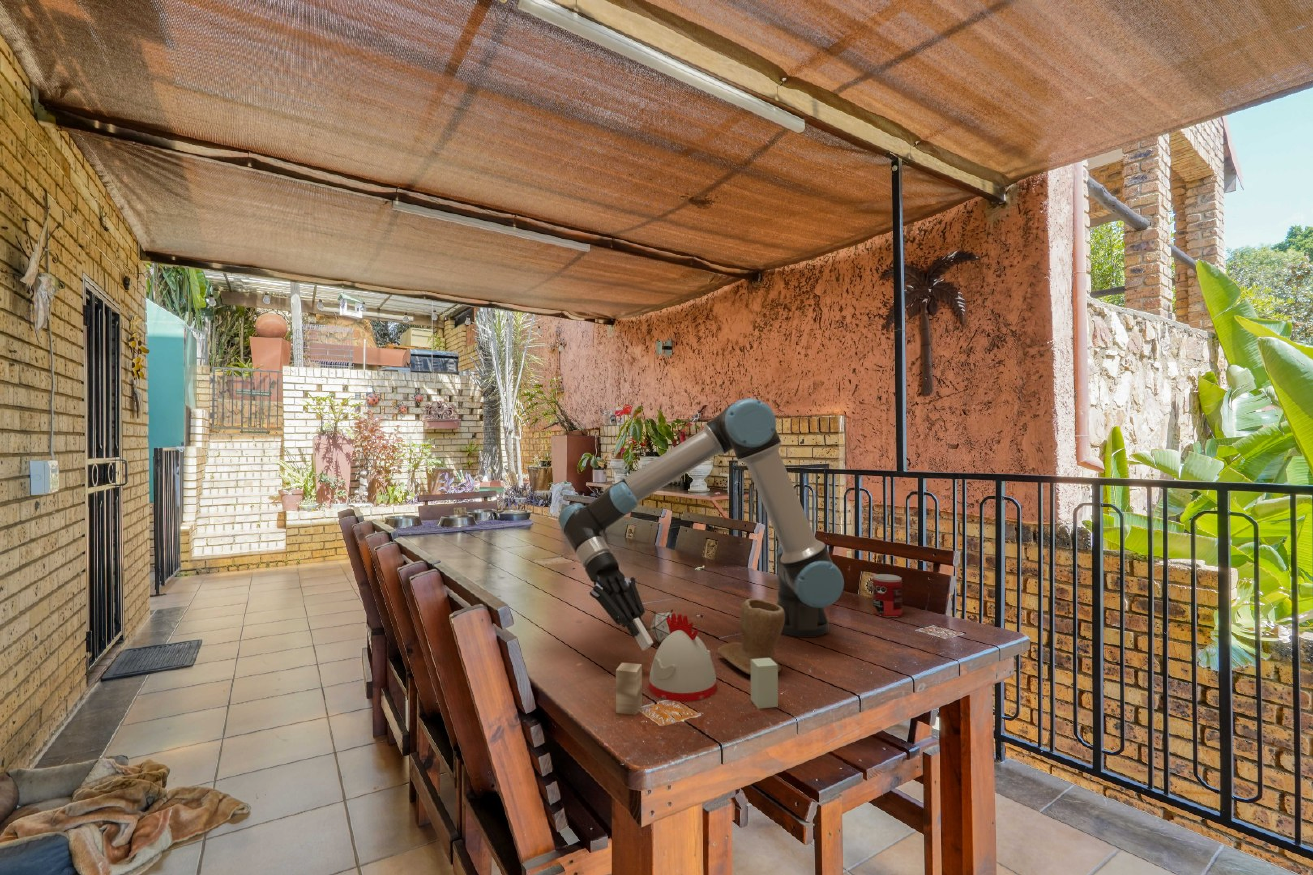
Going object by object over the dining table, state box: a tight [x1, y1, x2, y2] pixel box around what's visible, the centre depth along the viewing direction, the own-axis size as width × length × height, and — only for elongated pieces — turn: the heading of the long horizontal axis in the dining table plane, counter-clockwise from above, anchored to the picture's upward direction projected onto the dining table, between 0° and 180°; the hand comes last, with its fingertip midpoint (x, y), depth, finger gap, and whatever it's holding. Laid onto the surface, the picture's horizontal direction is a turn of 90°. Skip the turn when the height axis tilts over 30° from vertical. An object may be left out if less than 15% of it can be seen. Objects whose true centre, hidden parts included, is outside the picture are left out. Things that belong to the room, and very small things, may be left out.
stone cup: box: [717, 598, 785, 676], centre depth 135 cm, size 15×12×15 cm
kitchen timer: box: [648, 612, 717, 702], centre depth 124 cm, size 14×14×15 cm
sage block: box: [750, 658, 779, 710], centre depth 116 cm, size 4×4×8 cm
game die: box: [646, 608, 677, 647], centre depth 152 cm, size 9×8×10 cm
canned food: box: [872, 573, 903, 617], centre depth 176 cm, size 8×8×11 cm
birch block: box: [615, 662, 643, 716], centre depth 114 cm, size 4×4×8 cm
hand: (647, 646), depth 131 cm, fingers closed
